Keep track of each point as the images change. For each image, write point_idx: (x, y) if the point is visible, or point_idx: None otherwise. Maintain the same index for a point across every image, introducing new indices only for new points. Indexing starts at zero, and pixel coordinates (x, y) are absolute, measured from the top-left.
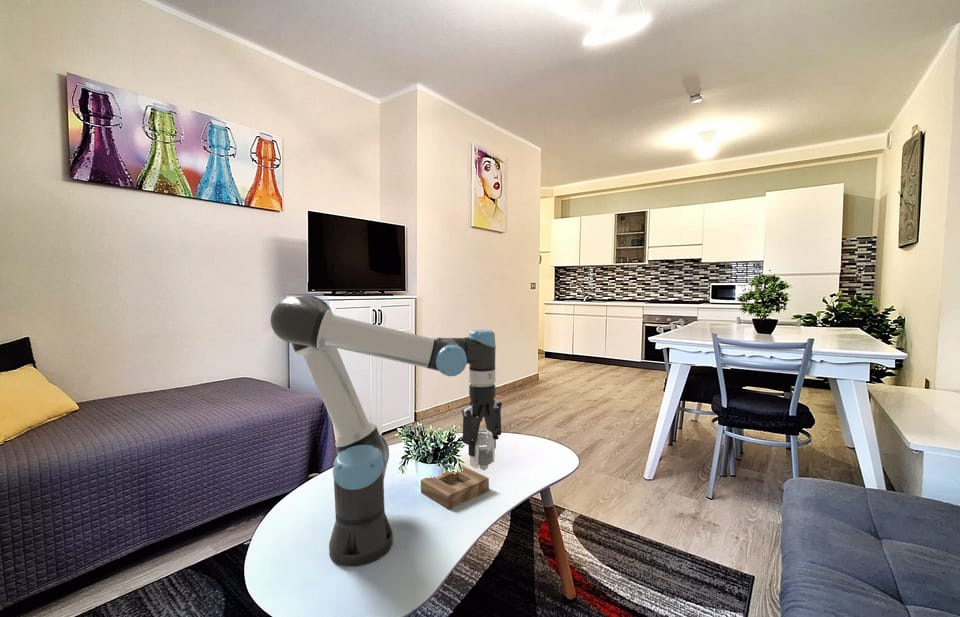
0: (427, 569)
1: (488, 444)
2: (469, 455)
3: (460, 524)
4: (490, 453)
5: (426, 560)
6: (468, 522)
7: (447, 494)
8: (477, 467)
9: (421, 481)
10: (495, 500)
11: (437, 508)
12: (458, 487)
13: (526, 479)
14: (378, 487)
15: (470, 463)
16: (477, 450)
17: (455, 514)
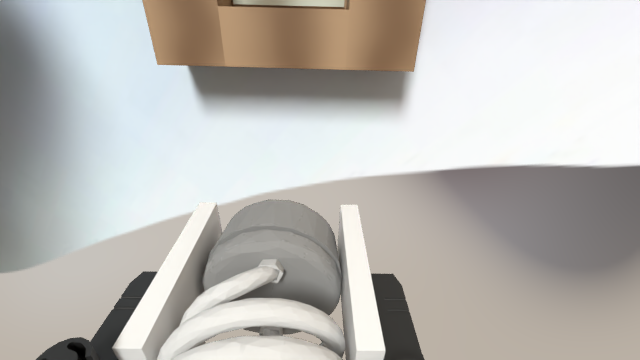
0: (35, 230)
1: (322, 343)
2: (143, 276)
3: (178, 157)
4: (290, 333)
5: (39, 208)
6: (204, 165)
7: (161, 53)
8: None
9: None
10: (356, 134)
11: None
12: (239, 35)
13: (570, 107)
14: None
15: (194, 213)
16: None
17: (192, 103)
